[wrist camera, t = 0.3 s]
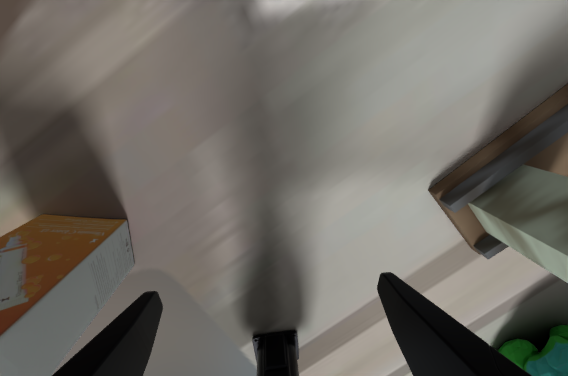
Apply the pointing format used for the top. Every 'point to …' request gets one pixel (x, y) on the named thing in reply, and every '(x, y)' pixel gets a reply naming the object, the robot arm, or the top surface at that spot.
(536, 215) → the sage block
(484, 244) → the walnut chute
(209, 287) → the top surface
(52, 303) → the small box
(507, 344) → the brain model
